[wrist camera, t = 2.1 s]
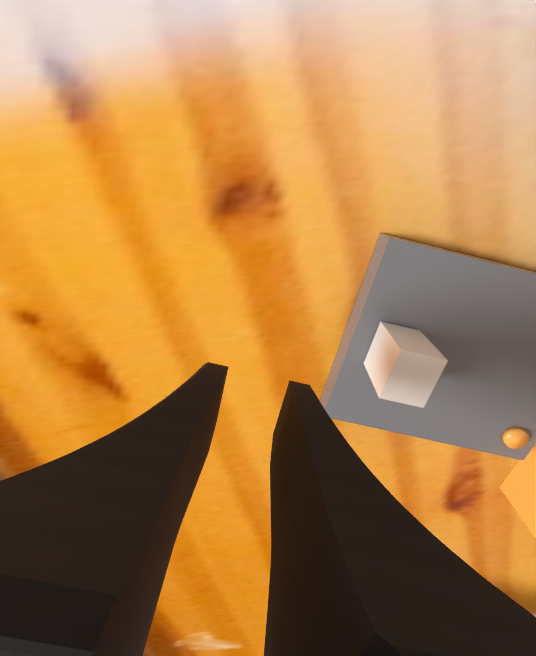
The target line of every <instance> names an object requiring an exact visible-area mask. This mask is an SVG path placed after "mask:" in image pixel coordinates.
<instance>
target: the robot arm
mask: <svg viewBox="0 0 536 656" xmlns="http://www.w3.org/2000/svg"><path fill="white" fill-rule="evenodd" d="M227 370H228V367H227V366H222V365H218V364H213V363H209V362H208V363H206V364H204V365H203V366H202V367H201V368H200V369H199V370H198V371H197V372H196V373H195V374H194V375H193V376H192V377H190V378H189V379H188V380H187V381H186V382H185V383H184V384H182V385H181V386H180V387H179V388H177V389H176V390H175V391H174V392H172V393H171V394H170V395H169V396H167V397H166V398H165V399H163V400H162V401H160V402H159V403H158V404H156V405H155V406H153V407H152V408H151V409H149V410H148V411H146V412H145V413H143V414H142V415H140V416H139V417H137V418H135V419H134V420H132V421H131V422H129V423H127V424H126V425H124V426H122V427H120V428H119V429H117V430H115V431H113V432H112V433H110V434H108V435H106V436H104V437H102V438H100V439H98V440H96V441H94V442H92V443H90V444H88V445H86V446H84V447H82V448H80V449H78V450H76V451H74V452H72V453H69V454H67V455H65V456H63V457H60V458H58V459H56V460H53V461H51V462H48V463H46V464H44V465H41V466H39V467H36V468H33V469H31V470H28V471H26V472H23V473H20V474H18V475H15V476H13V477H10V478H7V479H4V480H2V481H0V656H142V655H143V652H144V648H145V644H146V641H147V637H148V634H149V630H150V627H151V623H152V620H153V616H154V613H155V609H156V606H157V602H158V599H159V595H160V592H161V588H162V585H163V581H164V578H165V574H166V571H167V567H168V564H169V560H170V557H171V554H172V550H173V547H174V543H175V540H176V537H177V534H178V531H179V528H180V525H181V523H182V520H183V517H184V515H185V512H186V510H187V507H188V504H189V502H190V499H191V497H192V494H193V491H194V489H195V486H196V483H197V481H198V478H199V476H200V473H201V470H202V468H203V465H204V462H205V460H206V457H207V455H208V452H209V448H210V444H211V441H212V437H213V433H214V429H215V426H216V422H217V417H218V413H219V408H220V403H221V398H222V394H223V389H224V384H225V380H226V375H227ZM270 490H271V570H270V584H269V598H268V611H267V623H266V636H265V648H264V656H536V617H535V616H533V615H532V614H531V613H529V612H528V611H527V610H526V609H524V608H523V607H522V606H520V605H519V604H518V603H516V602H515V601H514V600H512V599H511V598H510V597H508V596H507V595H506V594H504V593H503V592H502V591H500V590H499V589H498V588H496V587H495V586H494V585H492V584H491V583H490V582H488V581H487V580H486V579H485V578H484V577H482V576H481V575H480V574H479V573H477V572H476V571H475V570H474V569H473V568H471V567H470V566H469V565H468V564H467V563H465V562H464V561H463V560H462V559H461V558H459V557H458V556H457V555H456V554H455V553H453V552H452V551H451V550H450V549H449V548H448V547H446V546H445V545H444V544H443V543H442V542H441V541H440V540H439V539H437V538H436V537H435V536H434V535H433V534H432V533H431V532H430V531H428V530H427V529H426V528H425V527H424V526H423V525H422V524H421V523H420V522H419V521H418V520H417V519H416V518H415V517H414V516H413V515H412V514H411V513H410V512H409V511H407V510H406V509H405V508H404V507H403V506H402V505H401V504H400V503H399V502H398V501H397V500H396V499H395V498H394V497H393V495H392V494H391V493H390V492H389V491H388V490H387V489H386V488H385V487H384V486H383V485H382V484H381V482H380V481H379V480H378V479H377V478H376V477H375V476H374V475H373V474H372V472H371V471H370V470H369V469H368V468H367V467H366V465H365V464H364V463H363V462H362V461H361V459H360V458H359V457H358V455H357V454H356V453H355V452H354V450H353V449H352V448H351V446H350V445H349V444H348V442H347V441H346V440H345V438H344V437H343V436H342V434H341V433H340V431H339V430H338V429H337V427H336V426H335V424H334V423H333V421H332V420H331V418H330V417H329V415H328V414H327V412H326V411H325V409H324V407H323V406H322V404H321V403H320V401H319V399H318V398H317V396H316V395H315V393H314V391H313V390H312V388H311V387H310V385H307V384H302V383H298V382H294V381H289V384H288V387H287V391H286V394H285V397H284V400H283V404H282V407H281V410H280V413H279V417H278V420H277V423H276V427H275V430H274V433H273V442H272V451H271V461H270Z"/></svg>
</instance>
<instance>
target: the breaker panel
mask: <svg viewBox="0 0 536 656" xmlns="http://www.w3.org/2000/svg"><path fill="white" fill-rule="evenodd" d="M380 321H382V322H386V323H390V324H395V325H399V326H403V327H407V328H411V329H416V330H420V331H421V332H422V333H423V334H424V335H425V336H426V338H427V339H428V340H429V341H430V342H431V343H432V344H433V345H434V346H435V347H436V348H437V349H438V350H439V351H440V353H441V354H442V355H443V356H444V357H445V358H446V359H447V360H448V362H447V364H446V366H445V368H444V369H443V371H442V373H441V375H440V377H439V379H438V381H437V383H436V385H435V387H434V389H433V391H432V393H431V395H430V396H429V398H428V400H427V402H426V404H425V406H424V408H421V407H417V406H412V405H408V404H403V403H399V402H394V401H390V400H385V399H381V398H379V397H378V394H377V392H376V390H375V388H374V386H373V383H372V381H371V379H370V377H369V374H368V372H367V370H366V368H365V365H364V361H365V359H366V356H367V354H368V351H369V349H370V346H371V344H372V341H373V339H374V336H375V334H376V331H377V329H378V326H379V324H380ZM320 403H321V404H322V406H323V407H324V409H325V411H326V412H327V414H328V415H329V417H330V418H332V419H337V420H341V421H346V422H350V423H355V424H360V425H364V426H369V427H373V428H378V429H382V430H387V431H391V432H396V433H401V434H405V435H410V436H414V437H419V438H423V439H428V440H432V441H437V442H442V443H446V444H451V445H455V446H460V447H464V448H469V449H473V450H478V451H483V452H487V453H492V454H496V455H501V456H505V457H510V458H514V459H519V460H524V459H525V458H526V457H527V455H528V454H529V452H530V451H531V450H532V448H533V447H534V446H535V444H536V272H535V271H531V270H527V269H523V268H519V267H515V266H511V265H507V264H503V263H499V262H495V261H491V260H487V259H483V258H479V257H475V256H471V255H467V254H463V253H459V252H455V251H451V250H447V249H443V248H439V247H435V246H431V245H427V244H423V243H420V242H416V241H412V240H408V239H404V238H400V237H396V236H392V235H388V234H384V233H380V235H379V238H378V241H377V244H376V246H375V249H374V252H373V255H372V257H371V260H370V263H369V266H368V268H367V271H366V274H365V277H364V280H363V282H362V285H361V288H360V291H359V293H358V296H357V299H356V302H355V305H354V307H353V310H352V313H351V316H350V318H349V321H348V324H347V327H346V330H345V332H344V335H343V338H342V341H341V343H340V346H339V349H338V352H337V355H336V357H335V360H334V363H333V366H332V368H331V371H330V374H329V377H328V379H327V382H326V385H325V388H324V391H323V393H322V396H321V399H320Z"/></svg>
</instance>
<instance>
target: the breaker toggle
mask: <svg viewBox="0 0 536 656" xmlns="http://www.w3.org/2000/svg"><path fill="white" fill-rule="evenodd" d="M447 362H448V360H447V359H446V358H445V357H444V356H443V355H442V354H441V353H440V351H439V350H438V349H437V348H436V347H435V346H434V345H433V344H432V343H431V342H430V341H429V340H428V339H427V338H426V336H425V335H424V334H423V333H422V332H421V331H420V330H416V329H411V328H407V327H403V326H399V325H395V324H390V323H386V322H382V321H380V324H379V326H378V329H377V331H376V334H375V336H374V339H373V341H372V344H371V346H370V349H369V351H368V354H367V356H366V359H365V361H364V365H365V368H366V370H367V372H368V374H369V377H370V379H371V381H372V383H373V386H374V388H375V390H376V392H377V394H378V397H379V398H381V399H385V400H390V401H394V402H399V403H403V404H408V405H412V406H417V407H421V408H424V406H425V404H426V402H427V400H428V398H429V396H430V395H431V393H432V391H433V389H434V387H435V385H436V383H437V381H438V379H439V377H440V375H441V373H442V371H443V369H444V368H445V366H446V364H447Z"/></svg>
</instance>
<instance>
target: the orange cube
mask: <svg viewBox="0 0 536 656" xmlns="http://www.w3.org/2000/svg"><path fill="white" fill-rule="evenodd" d="M499 488H500V489H501V490H502V492H503V493H504V495H505V496H506V497H507V499H508V500H509V502H510V503H511V504H512V506H513V507H514V509H515V510H516V511H517V513H518V514H519V516H520V517H521V518H522V520H523V521H524V523H525V524H526V525H527V527H528V528H529V530H530V531H531V532H532V534H533V535H534V537H535V538H536V444H535V446H534V447H533V448H532V450H531V451H530V452H529V454H528V455H527V457H526V458H525V459H524V460H519V461H518V462H517V463H516V465H515V466H514V468H513V469H512V470H511V472H510V473H509V475H508V476H507V477H506V479H505V480H504V482H503V483H502V484H501V486H500V487H499Z"/></svg>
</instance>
